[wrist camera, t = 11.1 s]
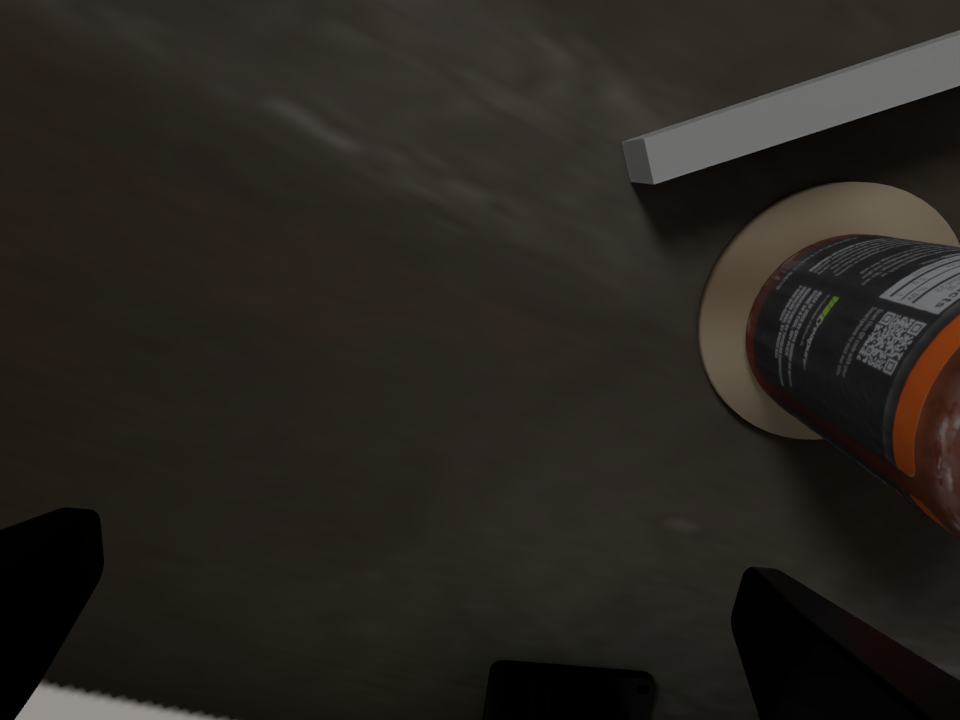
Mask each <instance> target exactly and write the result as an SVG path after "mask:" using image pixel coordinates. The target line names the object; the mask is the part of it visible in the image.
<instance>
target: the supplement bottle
mask: <svg viewBox="0 0 960 720" xmlns="http://www.w3.org/2000/svg"><path fill="white" fill-rule="evenodd" d="M745 341H746V352H747V358H748V361H749V364H750V367H751V370H752V373H753V375H754V376H755V378H756V380H757V382H758V383H759V385H760V387H761V388H762V390H763V391H764V392H765V393H766V394H767V395H768V396H769V397H770V398H771V399H773V400H774V401H775V402H776V403H777V404H778V405H779V406H780V407H782V408H783V409H784V410H785V411H787V412H788V413H789V414H791V415H792V416H794V417H795V418H796V419H798V420H799V421H800V422H801V423H803V424H804V425H806V426H807V427H808V428H809V429H811V430H812V431H814V432H815V433H817V434H818V435H819V436H821V437H822V438H823V439H825V440H826V441H827V442H829V443H830V444H832V445H833V446H834V447H835V448H837V449H838V450H839V451H841V452H842V453H843V454H844V455H846V456H847V457H849V458H850V459H851V460H853V461H854V462H855V463H857V464H858V465H859V466H861V467H862V468H864V469H865V470H866V471H868V472H869V473H870V474H872V475H873V476H874V477H876V478H877V479H879V480H880V481H881V482H882V483H884V484H885V485H886V486H888V487H889V488H890V489H892V490H893V491H895V492H896V493H897V494H898V495H900V496H901V497H902V498H904V499H905V500H907V501H908V502H909V503H911V504H912V505H913V506H914V507H916V508H917V509H918V510H919V511H921V512H922V513H923V514H924V515H926V516H928V517H930V518H932V519H933V520H934V521H936V522H937V523H938V524H940V525H941V526H942V527H944V528H945V529H946V530H948V531H949V532H950V533H951V534H953V535H954V536H956V537H957V538H959V539H960V247H955V246H948V245H942V244H934V243H927V242H921V241H915V240H908V239H900V238H894V237H888V236H881V235H869V234H848V235H841V236H835V237H831V238H828V239H824V240H821V241H818V242H816V243H814V244H812V245H809V246H807V247H805V248H803V249H801V250H800V251H798V252H797V253H795V254H793V255H792V256H791V257H789V258H788V259H787V260H785V261H784V262H783V263H782V264H781V265H780V266H779V267H778V268H777V269H776V270H775V271H774V272H773V274H772V275H771V276H770V277H769V278H768V279H767V281H766V282H765V283H764V285H763V286H762V287H761V289H760V291H759V293H758V295H757V297H756V298H755V300H754V303H753V305H752V308H751V311H750V314H749V317H748V323H747V326H746V340H745Z"/></svg>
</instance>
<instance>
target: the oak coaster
mask: <svg viewBox="0 0 960 720" xmlns="http://www.w3.org/2000/svg"><path fill="white" fill-rule="evenodd" d="M848 234H869V235H881V236H888V237H894V238H900V239H908V240H915V241H921V242H927V243H934V244H942V245H948V246H955V247H960V244H959V242H958V240H957V238H956V235H955V234H954V232H953V231H952V229H951V228H950V226H949V225H948V223H947V222H946V221H945V220H944V219H943V217H942V216H941V215H940V214H939V213H938V212H937V211H936V210H935V209H934V208H932V207H931V206H930V205H928V204H927V203H926V202H925V201H923V200H922V199H920V198H918V197H916V196H914V195H913V194H911V193H909V192H907V191H904V190H901V189H898V188H895V187H893V186H888V185H883V184H878V183H867V182H836V183H827V184H822V185H818V186H813V187H809V188H807V189H804V190H801V191H798V192H795V193H793V194H791V195H789V196H787V197H785V198H783V199H781V200H779V201H777V202H775V203H773V204H772V205H770V206H769V207H767V208H766V209H764V210H763V211H761V212H760V213H758V214H757V215H756V216H755V217H754V218H752V219H751V220H750V221H749V222H748V223H746V224H745V225H744V226H743V227H742V228H741V229H740V231H739V232H738V233H737V234H736V235H735V236H734V237H733V238H732V239H731V240H730V242H729V243H728V244H727V246H726V247H725V248H724V250H723V251H722V252H721V254H720V256H719V257H718V259H717V261H716V262H715V264H714V266H713V268H712V269H711V272H710V274H709V276H708V279H707V281H706V283H705V286H704V289H703V292H702V296H701V299H700V303H699V309H698V316H697V342H698V351H699V354H700V358H701V362H702V366H703V368H704V370H705V373H706V375H707V377H708V379H709V381H710V383H711V384H712V386H713V388H714V389H715V391H716V392H717V393H718V394H719V396H720V397H721V398H722V399H723V400H724V402H725V403H726V404H727V405H729V406H730V407H731V408H732V409H733V410H734V411H735V412H736V413H737V414H739V415H740V416H741V417H742V418H743V419H745V420H747V421H748V422H750V423H751V424H753V425H754V426H756V427H759V428H761V429H763V430H765V431H767V432H770V433H773V434H777V435H780V436H783V437H789V438H795V439H811V440H816V439H823V438H822V437H821V436H819V435H818V434H817V433H815V432H814V431H812V430H811V429H809V428H808V427H807V426H806V425H804V424H803V423H801V422H800V421H799V420H798V419H796V418H795V417H794V416H792V415H791V414H789V413H788V412H787V411H785V410H784V409H783V408H782V407H780V406H779V405H778V404H777V403H776V402H775V401H774V400H773V399H771V398H770V397H769V396H768V395H767V394H766V393H765V392H764V391H763V390H762V388H761V387H760V385H759V383H758V382H757V380H756V378H755V376H754V375H753V373H752V370H751V367H750V364H749V361H748V358H747V352H746V341H745V340H746V326H747V323H748V317H749V314H750V311H751V308H752V305H753V303H754V300H755V298H756V297H757V295H758V293H759V291H760V289H761V287H762V286H763V285H764V283H765V282H766V281H767V279H768V278H769V277H770V276H771V275H772V274H773V272H774V271H775V270H776V269H777V268H778V267H779V266H780V265H781V264H782V263H783V262H784V261H785V260H787V259H788V258H789V257H791V256H792V255H793V254H795V253H797V252H798V251H800V250H801V249H803V248H805V247H807V246H809V245H812V244H814V243H816V242H818V241H821V240H824V239H828V238H831V237H835V236H841V235H848Z"/></svg>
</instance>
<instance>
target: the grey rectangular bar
mask: <svg viewBox="0 0 960 720" xmlns="http://www.w3.org/2000/svg"><path fill="white" fill-rule="evenodd" d="M957 86H960V30H959V31H956V32H953V33H950V34H947V35H944V36H941V37H938V38H935V39H932V40H929V41H926V42H923V43H920V44H917V45H914V46H910V47H907V48H904V49H901V50H898V51H895V52H892V53H889V54H886V55H883V56H880V57H877V58H874V59H871V60H868V61H865V62H862V63H859V64H856V65H853V66H850V67H847V68H844V69H841V70H838V71H835V72H832V73H829V74H826V75H823V76H820V77H817V78H814V79H810V80H807V81H804V82H801V83H798V84H795V85H792V86H789V87H786V88H783V89H780V90H777V91H774V92H771V93H768V94H765V95H762V96H759V97H756V98H753V99H750V100H747V101H744V102H741V103H738V104H735V105H732V106H729V107H726V108H723V109H720V110H717V111H714V112H711V113H707V114H704V115H701V116H698V117H695V118H692V119H689V120H686V121H683V122H680V123H677V124H674V125H671V126H668V127H665V128H662V129H659V130H656V131H653V132H650V133H647V134H644V135H641V136H638V137H635V138H632V139H629V140H626V141H623V142H621V143H622V148H623V152H624V156H625V161H626V165H627V169H628V173H629V178H630V182H636V183H645V184H657V183H660V182H663V181H666V180H669V179H673V178H676V177H679V176H682V175H685V174H688V173H691V172H694V171H697V170H700V169H704V168H707V167H710V166H713V165H716V164H719V163H722V162H725V161H728V160H731V159H734V158H738V157H741V156H744V155H747V154H750V153H753V152H756V151H759V150H762V149H765V148H769V147H772V146H775V145H778V144H781V143H784V142H787V141H790V140H793V139H796V138H800V137H803V136H806V135H809V134H812V133H815V132H818V131H821V130H824V129H827V128H830V127H834V126H837V125H840V124H843V123H846V122H849V121H852V120H855V119H858V118H861V117H865V116H868V115H871V114H874V113H877V112H880V111H883V110H886V109H889V108H892V107H895V106H899V105H902V104H905V103H908V102H911V101H914V100H917V99H920V98H923V97H926V96H930V95H933V94H936V93H939V92H942V91H945V90H948V89H951V88H954V87H957Z"/></svg>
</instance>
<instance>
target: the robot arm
mask: <svg viewBox="0 0 960 720" xmlns="http://www.w3.org/2000/svg"><path fill="white" fill-rule="evenodd" d="M103 566H104V556H103V544H102V533H101V522H100V517H99V515H98V514H97V513H96V512H95V511H94V510H90V509H79V508H67V507H66V508H60V509H57V510H54V511H52V512H49V513H46V514H43V515H41V516H38V517H35V518H32V519H30V520H27V521H24V522H21V523H19V524H16V525H13V526H10V527H7V528H5V529H2V530H0V720H14V719H15V718H16V717H17V715H18V714H19V712H20V711H21V710H22V708H23V707H24V705H25V704H26V702H27V701H28V700H29V698H30V697H31V695H32V694H33V692H34V691H35V689H36V688H37V686H38V685H39V683H40V681H41V680H42V678H43V677H44V675H45V673H46V672H47V670H48V669H49V667H50V665H51V663H52V662H53V660H54V658H55V656H56V655H57V653H58V651H59V649H60V648H61V646H62V644H63V643H64V641H65V639H66V637H67V636H68V634H69V632H70V630H71V629H72V627H73V625H74V624H75V622H76V620H77V618H78V617H79V615H80V613H81V611H82V610H83V608H84V606H85V604H86V603H87V601H88V599H89V598H90V596H91V594H92V592H93V591H94V589H95V587H96V585H97V584H98V582H99V580H100V577H101V575H102V571H103ZM731 626H732V632H733V635H734V639H735V642H736V645H737V648H738V651H739V654H740V657H741V661H742V664H743V667H744V670H745V673H746V676H747V680H748V683H749V686H750V689H751V692H752V695H753V699H754V702H755V705H756V708H757V711H758V714H759V718H760V720H960V681H959V680H958V679H956V678H954V677H953V676H951V675H949V674H948V673H946V672H945V671H943V670H941V669H940V668H938V667H936V666H935V665H933V664H931V663H930V662H928V661H927V660H925V659H923V658H922V657H920V656H918V655H917V654H915V653H914V652H912V651H910V650H909V649H907V648H905V647H904V646H902V645H901V644H899V643H897V642H896V641H894V640H892V639H891V638H889V637H888V636H886V635H884V634H883V633H881V632H879V631H878V630H876V629H874V628H873V627H871V626H870V625H868V624H866V623H865V622H863V621H861V620H860V619H858V618H857V617H855V616H853V615H852V614H850V613H848V612H847V611H845V610H844V609H842V608H840V607H839V606H837V605H835V604H834V603H832V602H831V601H829V600H827V599H826V598H824V597H822V596H821V595H819V594H817V593H816V592H814V591H813V590H811V589H809V588H808V587H806V586H804V585H803V584H801V583H800V582H798V581H796V580H795V579H793V578H791V577H790V576H788V575H787V574H785V573H783V572H782V571H780V570H777V569H773V568H761V567H750V568H748V569H746V571H745V572H744V574H743V576H742V579H741V583H740V586H739V590H738V593H737V597H736V600H735V604H734V607H733V611H732V616H731ZM502 673H505V674H506V675H503V676H501V675H499V674H502ZM642 684H645V685H643V686H639V685H642ZM654 694H655V684H654V681H653V678H652V676H651V675H650V674H649V673H647V672H644V671H634V670H621V669H609V668H596V667H583V666H571V665H558V664H545V663H533V662H520V661H507V660H501V661H497V662H495V663H494V664H493V665H491V668H490V671H489V678H488V685H487V692H486V699H485V706H484V712H483V719H482V720H648V718H649V714H650V710H651V706H652V702H653V698H654Z"/></svg>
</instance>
